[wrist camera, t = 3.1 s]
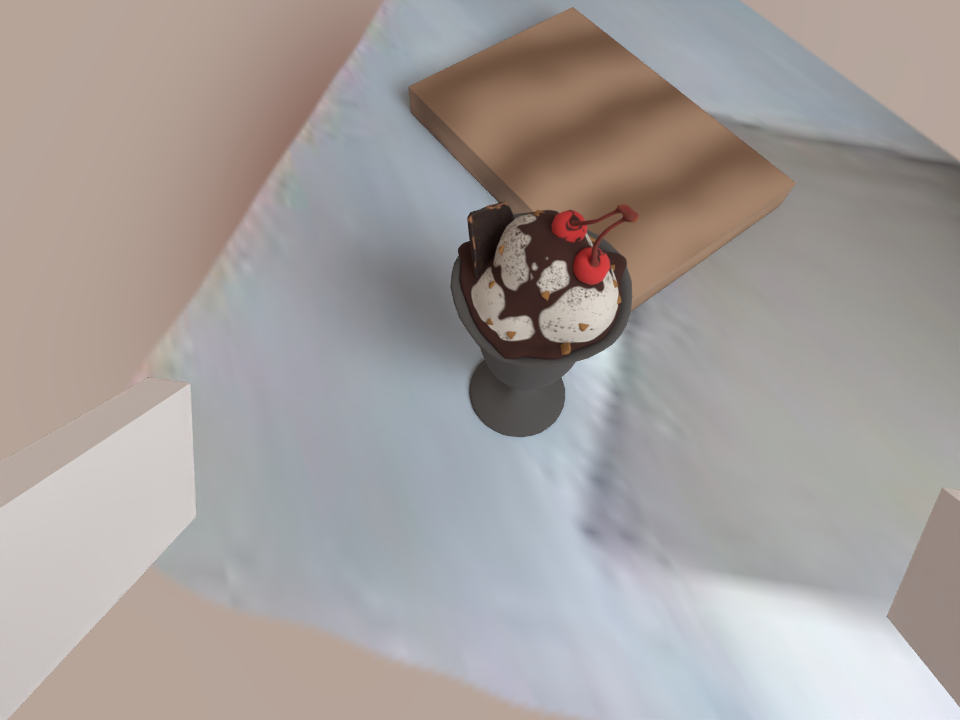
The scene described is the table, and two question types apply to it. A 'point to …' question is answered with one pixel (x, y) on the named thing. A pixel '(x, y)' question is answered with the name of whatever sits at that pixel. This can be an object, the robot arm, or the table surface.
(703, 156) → the brown flat wooden slab
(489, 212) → the sundae
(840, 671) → the table surface
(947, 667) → the robot arm
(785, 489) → the table surface
